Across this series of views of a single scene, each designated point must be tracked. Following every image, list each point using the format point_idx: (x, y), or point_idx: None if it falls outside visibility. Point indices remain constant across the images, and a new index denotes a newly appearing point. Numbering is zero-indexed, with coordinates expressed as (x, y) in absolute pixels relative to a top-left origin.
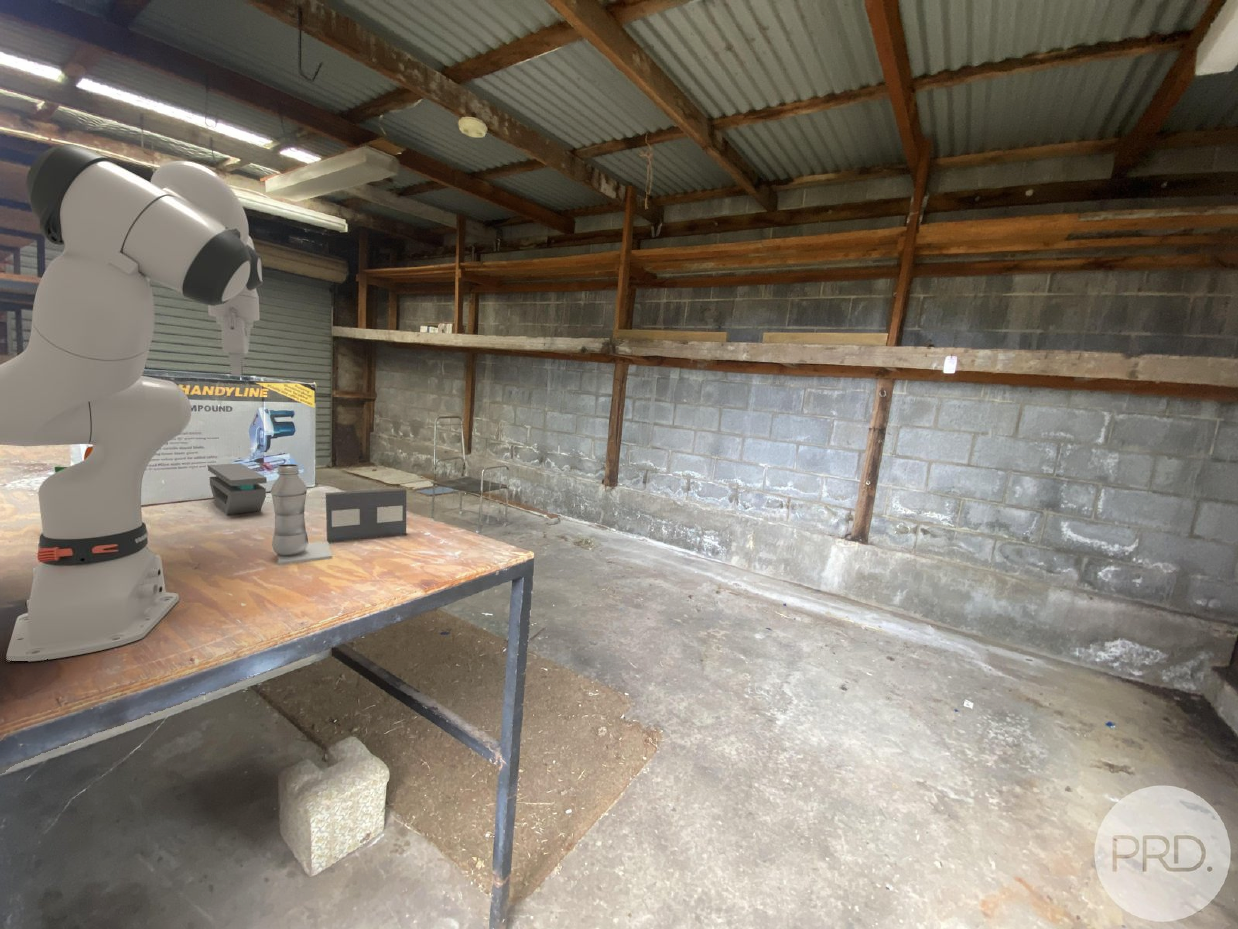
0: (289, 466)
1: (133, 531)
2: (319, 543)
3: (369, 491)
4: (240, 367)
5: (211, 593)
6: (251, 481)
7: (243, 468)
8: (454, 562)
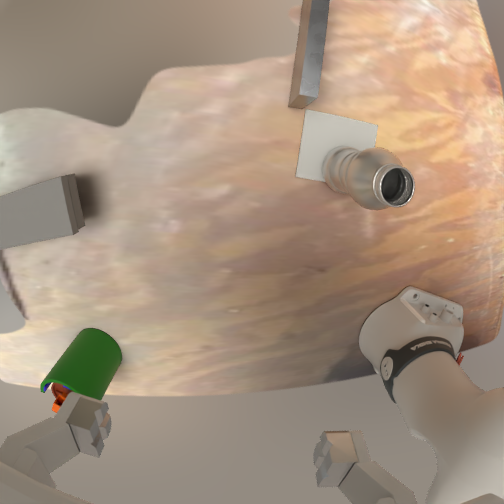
0: (380, 179)
1: (452, 353)
2: (312, 122)
3: (320, 21)
4: (370, 460)
5: (410, 261)
6: (68, 201)
7: None
8: (452, 24)
